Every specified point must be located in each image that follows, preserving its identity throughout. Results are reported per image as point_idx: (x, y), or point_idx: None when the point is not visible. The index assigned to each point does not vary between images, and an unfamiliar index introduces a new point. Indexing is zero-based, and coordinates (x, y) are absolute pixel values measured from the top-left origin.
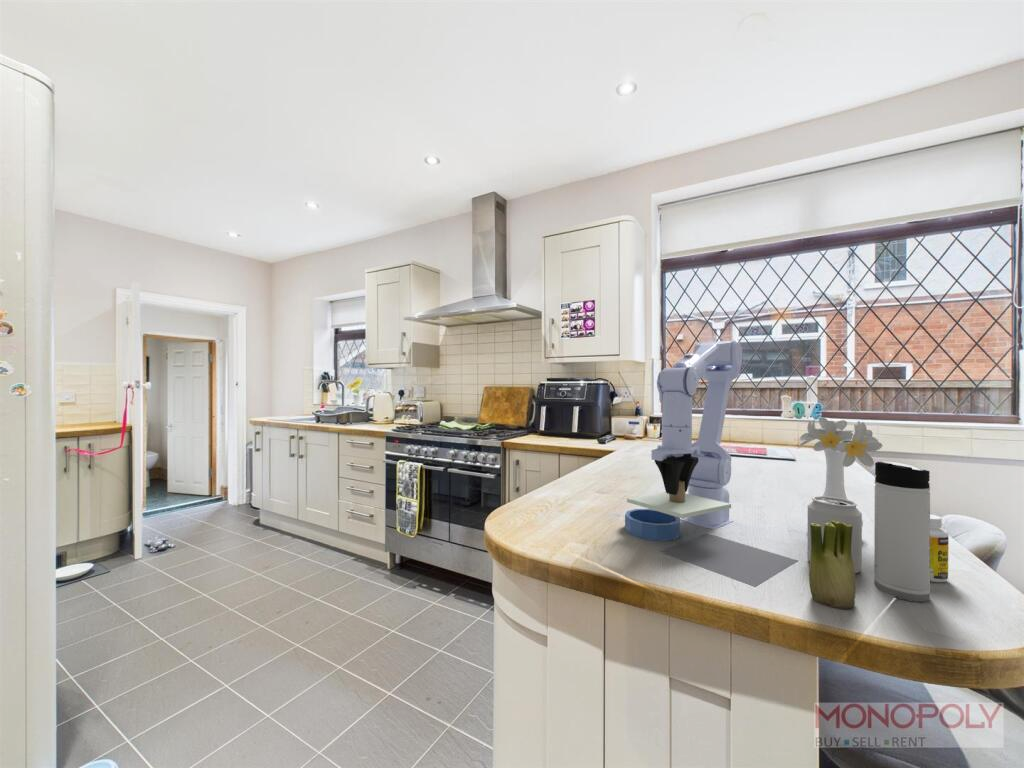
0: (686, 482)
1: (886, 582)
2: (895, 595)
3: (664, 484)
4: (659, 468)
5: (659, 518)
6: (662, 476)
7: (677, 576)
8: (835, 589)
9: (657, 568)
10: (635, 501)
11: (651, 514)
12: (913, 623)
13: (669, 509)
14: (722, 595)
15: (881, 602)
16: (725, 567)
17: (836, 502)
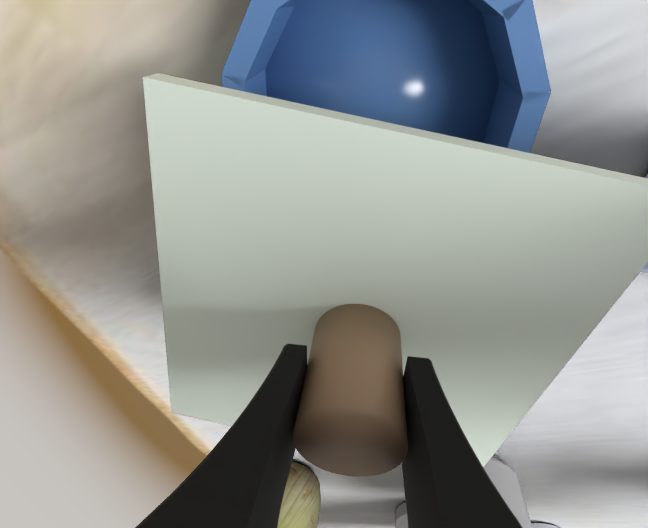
0: (404, 467)
1: (400, 524)
2: (395, 512)
3: (263, 385)
4: (162, 510)
5: (508, 85)
6: (225, 439)
7: (145, 319)
8: None
9: (130, 276)
10: (152, 169)
11: (501, 38)
12: (325, 510)
13: (178, 367)
14: (166, 386)
15: (362, 498)
16: None
17: None
